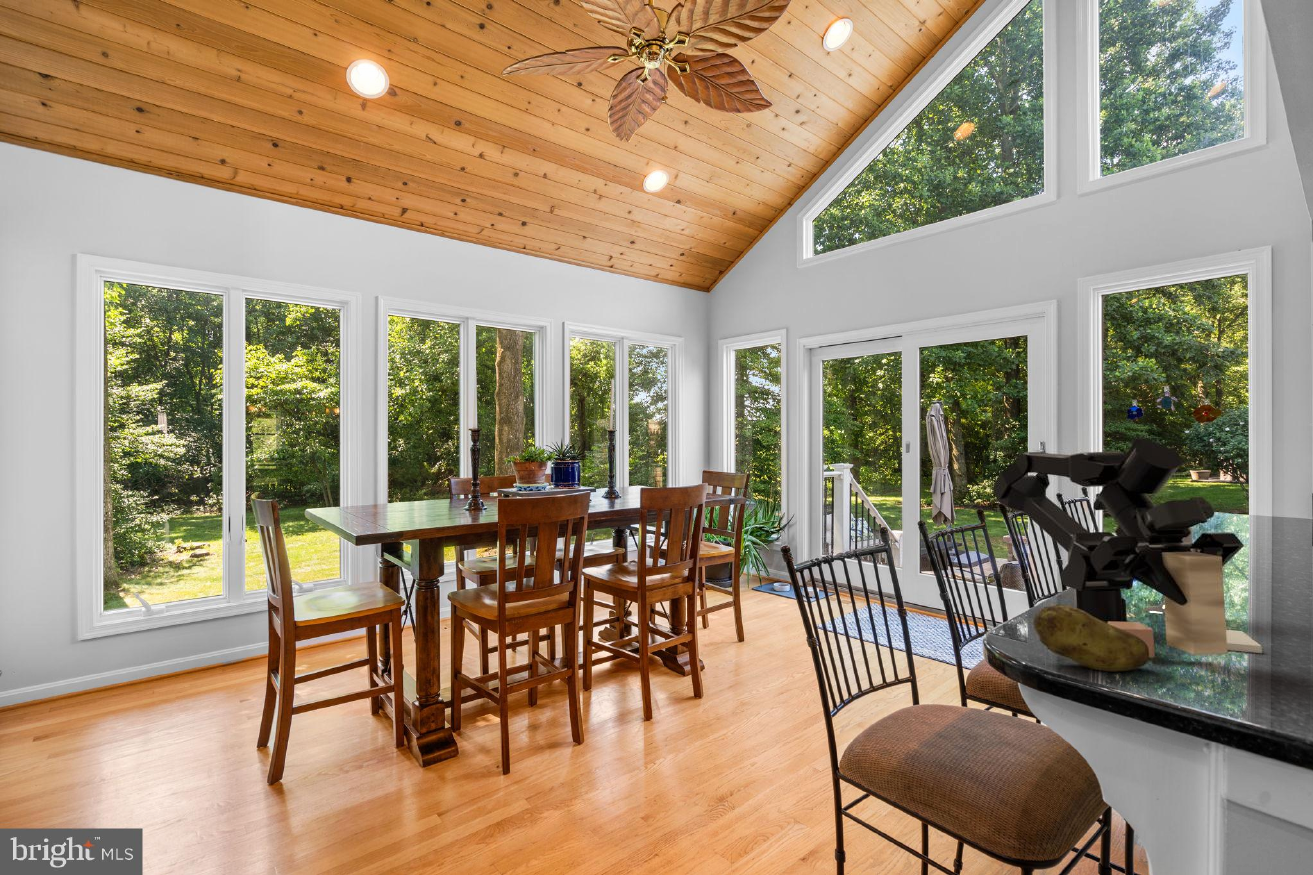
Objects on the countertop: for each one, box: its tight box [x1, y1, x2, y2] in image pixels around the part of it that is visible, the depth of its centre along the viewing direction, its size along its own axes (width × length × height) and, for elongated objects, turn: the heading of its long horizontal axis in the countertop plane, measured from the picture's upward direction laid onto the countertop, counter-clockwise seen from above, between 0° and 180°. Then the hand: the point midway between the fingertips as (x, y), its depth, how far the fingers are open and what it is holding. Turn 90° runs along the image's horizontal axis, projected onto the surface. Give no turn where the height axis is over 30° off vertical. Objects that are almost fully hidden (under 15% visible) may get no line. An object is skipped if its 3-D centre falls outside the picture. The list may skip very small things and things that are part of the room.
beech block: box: [1162, 552, 1228, 656], centre depth 86 cm, size 4×4×13 cm
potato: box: [1033, 604, 1150, 672], centre depth 86 cm, size 8×13×8 cm, turn 51°
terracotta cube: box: [1108, 621, 1155, 658], centre depth 91 cm, size 4×4×4 cm
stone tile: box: [1226, 629, 1263, 654], centre depth 94 cm, size 8×8×1 cm
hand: (1202, 603), depth 85 cm, fingers closed on beech block, 4 cm apart
